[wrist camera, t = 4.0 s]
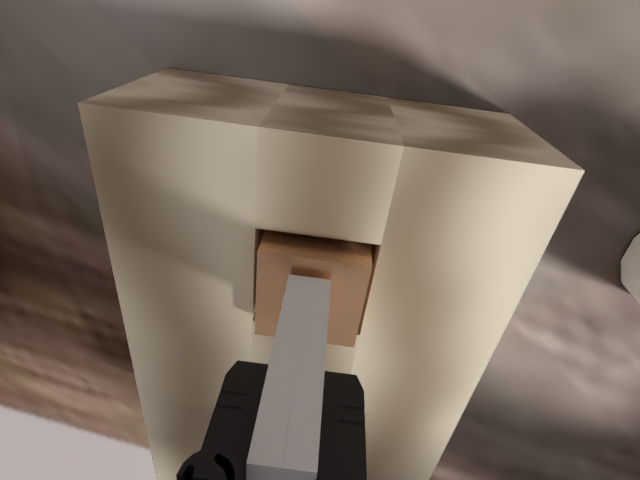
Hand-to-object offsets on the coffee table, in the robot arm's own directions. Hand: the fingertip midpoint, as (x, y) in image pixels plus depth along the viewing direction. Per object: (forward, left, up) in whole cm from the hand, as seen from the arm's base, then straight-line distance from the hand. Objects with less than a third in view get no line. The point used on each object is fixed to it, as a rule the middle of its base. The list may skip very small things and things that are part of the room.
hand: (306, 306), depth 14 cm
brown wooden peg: (0, 0, -6) cm, 6 cm away
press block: (0, +6, -8) cm, 10 cm away
